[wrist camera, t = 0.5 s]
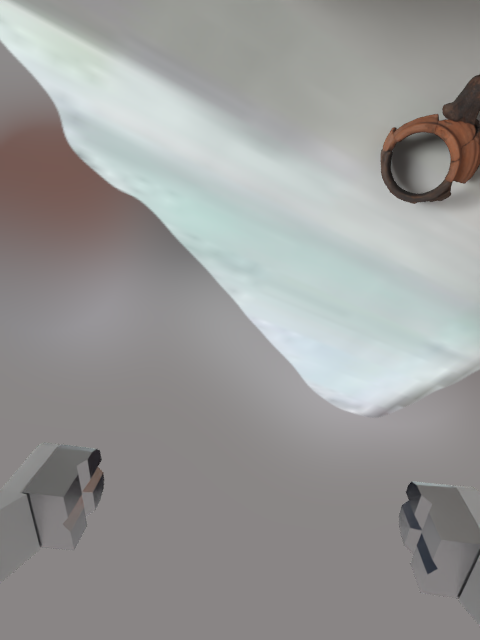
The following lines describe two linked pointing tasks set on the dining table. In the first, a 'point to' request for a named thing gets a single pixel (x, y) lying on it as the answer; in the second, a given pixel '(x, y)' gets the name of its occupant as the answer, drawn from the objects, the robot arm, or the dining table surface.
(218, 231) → the dining table surface
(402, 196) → the pottery mug
